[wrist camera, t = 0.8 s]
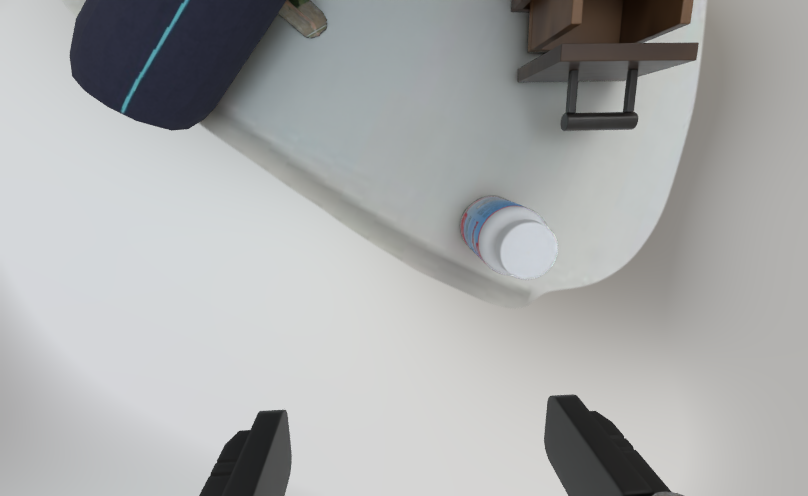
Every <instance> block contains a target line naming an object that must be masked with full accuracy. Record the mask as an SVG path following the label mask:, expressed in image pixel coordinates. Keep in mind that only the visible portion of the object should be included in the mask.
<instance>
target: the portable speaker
mask: <svg viewBox="0 0 808 496" xmlns="http://www.w3.org/2000/svg"><path fill="white" fill-rule="evenodd" d="M285 2H286V0H86V2H85V4H84V5H83V7H82V9H81V11H80V13H79V14H78V16H77V18H76V22H75V28H74V33H73V38H72V44H71V50H70V61H71V69H72V76H73V78H74V79H75V80H76V81H77V82H78V84H79V85H80V86H81V87H82V88H83V89H84V90H85V91H86V92H87V93H89V94H90V95H91V96H93V97H94V98H96V99H97V100H99V101H100V102H102V103H103V104H104V105H106V106H107V107H109V108H111V109H113V110H115V111H117V112H120V113H122V114H123V115H126V116H128V117H130V118H132V119H134V120H136V121H139V122H143V123H146V124H150V125H153V126H157V127H161V128H165V129H169V130H181V129H189V128H190V127H192V126H194V125H195V124H197V123H199V122H200V121H202V120H203V119H205V118H206V117H207V115H208V114H209V113H210V112H211V111H212V110H213V109H214V108H215V107H216V105H217V104H218V102H219V101H220V99H221V98H222V96H223V95H224V93H225V92H226V90H227V89H228V87H229V86H230V84H231V83H232V81H233V80H234V78H235V77H236V75H237V74H238V72H239V71H240V69H241V68H242V66H243V65H244V63H245V62H246V60H247V59H248V57H249V56H250V54H251V53H252V51H253V50H254V48H255V47H256V45H257V44H258V42H259V41H260V39H261V38H262V36H263V35H264V33H265V32H266V30H267V29H268V27H269V26H270V24H271V23H272V21H273V20H274V18H275V17H276V15H277V14H278V12H279V11H280V9H281V8H282V6H283V5H284V3H285Z"/></svg>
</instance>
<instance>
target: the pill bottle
mask: <svg viewBox="0 0 808 496" xmlns="http://www.w3.org/2000/svg"><path fill="white" fill-rule="evenodd" d="M460 229H461V234H462V237H463V239H464V241H465V243H466V244H467V245H468V246H469V247H470V248H471V249H472V250H473V251H474V252H475V253H476V254H477V255H478V256H479V257H480V259H481V260H483V261H484V262H485V263H486V264H487V265H488V266H489V267H490V268H491V269H492V270H494V271H496V272H498V273H500V274H503V275H508V276H514V277H516V278H519V279H534V278H537V277H539V276H541V275H543V274H544V273H546V272H547V271H548V270H549V269H550V268H551V267H552V265H553V264H554V262H555V260H556V258H557V253H558V243H557V239H556V237H555V235H554V233H553V232H552V231H551V230H550V229H549V228H548V227H547V225H546V223H545V221H544V220H543V218H542V217H541V216H540V215H539V214H537V213H536V212H535V211H533V210H531V209H529V208H526V207H524V206H521V205H519V204H516V203H514V202H511V201H509V200H506V199H503V198H500V197H496V196H487V197H483V198H480V199H478V200H476V201H475V202H474V203H472V204H471V205H470V206H469V207H468V208H467V209H466V211H465V212H464V214H463V216H462V219H461V224H460Z"/></svg>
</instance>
